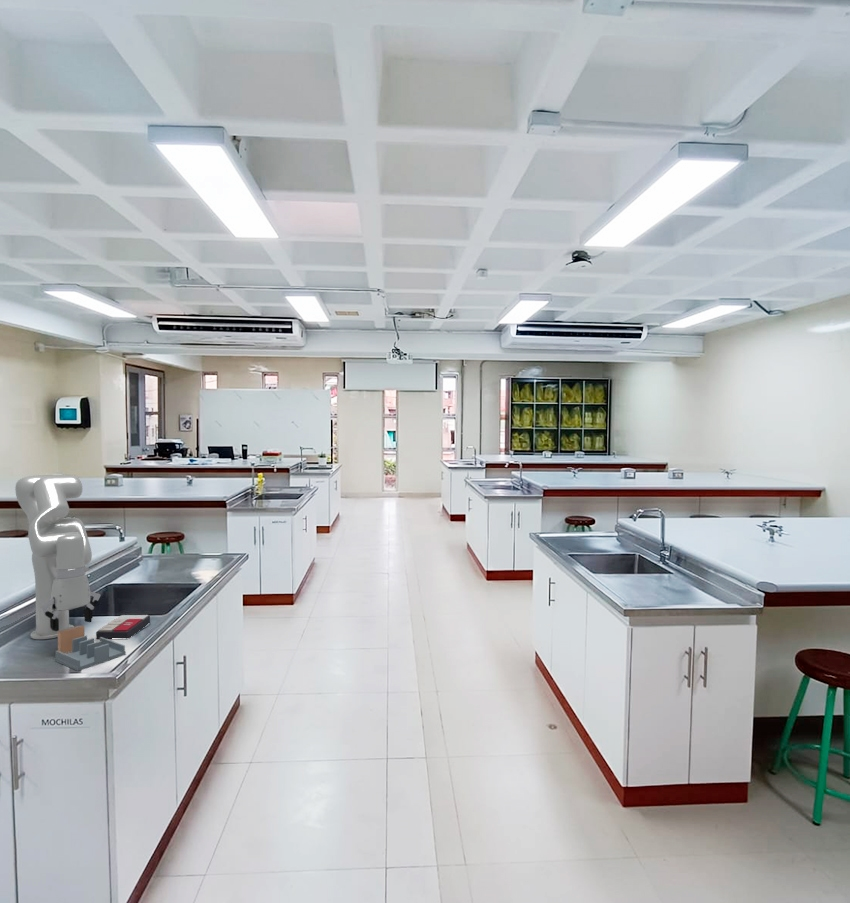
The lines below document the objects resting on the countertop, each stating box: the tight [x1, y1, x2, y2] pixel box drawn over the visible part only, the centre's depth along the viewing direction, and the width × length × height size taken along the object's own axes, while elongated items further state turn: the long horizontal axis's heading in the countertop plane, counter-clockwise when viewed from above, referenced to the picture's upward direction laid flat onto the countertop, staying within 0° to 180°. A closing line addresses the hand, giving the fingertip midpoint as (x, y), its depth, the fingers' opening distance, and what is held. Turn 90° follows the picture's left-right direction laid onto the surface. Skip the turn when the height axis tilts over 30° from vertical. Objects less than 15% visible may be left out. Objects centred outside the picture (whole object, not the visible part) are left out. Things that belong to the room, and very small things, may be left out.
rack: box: [54, 635, 127, 672], centre depth 162 cm, size 14×14×5 cm
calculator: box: [95, 614, 151, 640], centre depth 185 cm, size 11×4×15 cm
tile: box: [57, 624, 86, 654], centre depth 168 cm, size 2×7×7 cm, turn 149°
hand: (72, 626), depth 168 cm, fingers open, 9 cm apart
